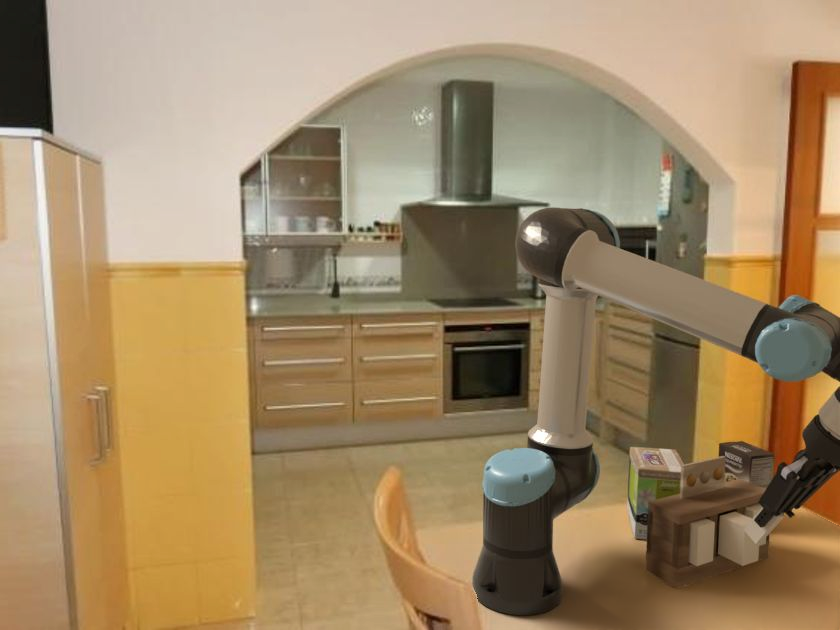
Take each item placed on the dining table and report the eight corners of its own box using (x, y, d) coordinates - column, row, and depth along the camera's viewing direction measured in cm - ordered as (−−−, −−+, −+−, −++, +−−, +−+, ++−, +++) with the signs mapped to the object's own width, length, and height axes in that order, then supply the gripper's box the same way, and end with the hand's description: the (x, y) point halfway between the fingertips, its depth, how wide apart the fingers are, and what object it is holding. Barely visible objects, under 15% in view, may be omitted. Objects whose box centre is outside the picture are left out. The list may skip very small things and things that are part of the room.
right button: (727, 537, 125) (729, 501, 124) (741, 533, 127) (743, 497, 126) (751, 548, 121) (753, 511, 120) (765, 543, 123) (768, 507, 122)
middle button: (717, 553, 119) (719, 515, 118) (733, 548, 121) (735, 511, 120) (742, 565, 114) (744, 526, 114) (758, 560, 116) (760, 522, 115)
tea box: (687, 544, 131) (690, 471, 130) (633, 540, 133) (636, 468, 132) (673, 513, 146) (676, 447, 144) (625, 509, 148) (628, 444, 146)
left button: (673, 553, 119) (675, 516, 118) (689, 549, 121) (691, 511, 120) (696, 566, 114) (698, 527, 114) (712, 560, 116) (714, 522, 115)
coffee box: (713, 515, 145) (717, 442, 143) (737, 511, 147) (741, 439, 145) (745, 532, 136) (750, 455, 134) (771, 528, 138) (775, 452, 136)
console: (645, 570, 121) (649, 469, 119) (735, 542, 132) (740, 448, 130) (676, 588, 115) (681, 481, 112) (768, 557, 126) (774, 459, 123)
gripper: (838, 454, 89) (743, 563, 101) (891, 444, 95) (795, 548, 107) (793, 414, 94) (708, 523, 106) (847, 408, 100) (760, 511, 112)
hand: (752, 535), depth 107 cm, fingers closed
